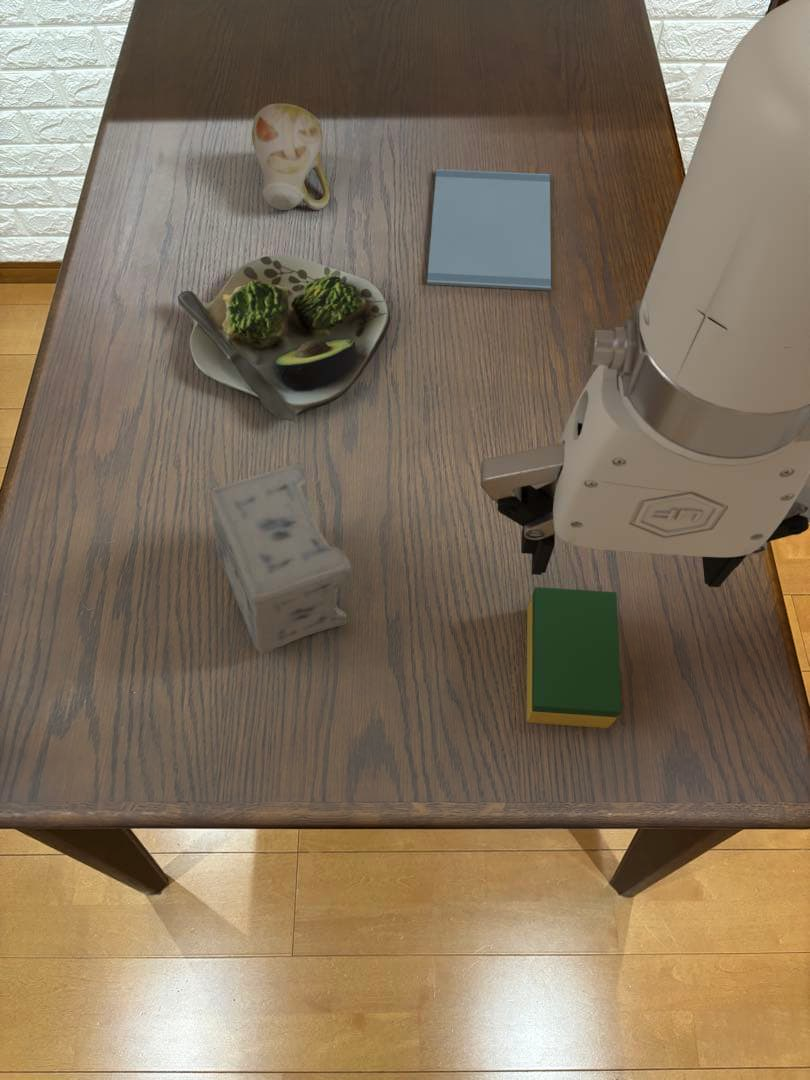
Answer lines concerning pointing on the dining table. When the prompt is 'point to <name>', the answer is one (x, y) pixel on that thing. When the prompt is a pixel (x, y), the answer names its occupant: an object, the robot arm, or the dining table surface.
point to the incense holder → (277, 558)
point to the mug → (288, 155)
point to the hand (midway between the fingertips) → (622, 557)
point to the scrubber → (573, 658)
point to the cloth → (490, 230)
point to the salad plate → (288, 332)
